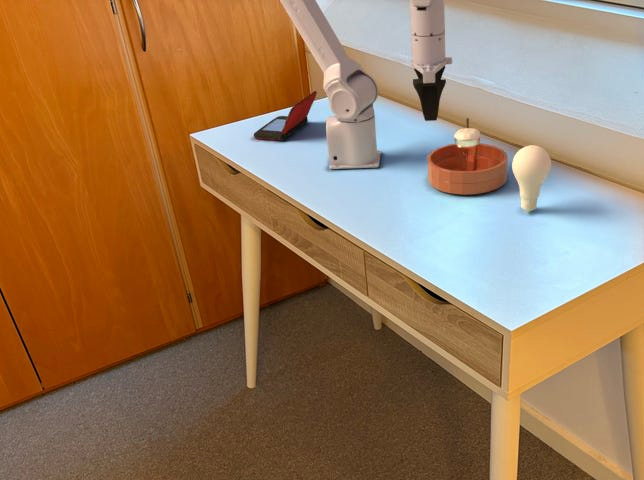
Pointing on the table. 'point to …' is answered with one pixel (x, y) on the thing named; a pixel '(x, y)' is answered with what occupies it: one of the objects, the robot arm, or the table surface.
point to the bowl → (467, 182)
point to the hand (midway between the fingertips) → (430, 113)
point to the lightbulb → (530, 173)
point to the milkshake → (467, 148)
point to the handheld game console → (287, 121)
